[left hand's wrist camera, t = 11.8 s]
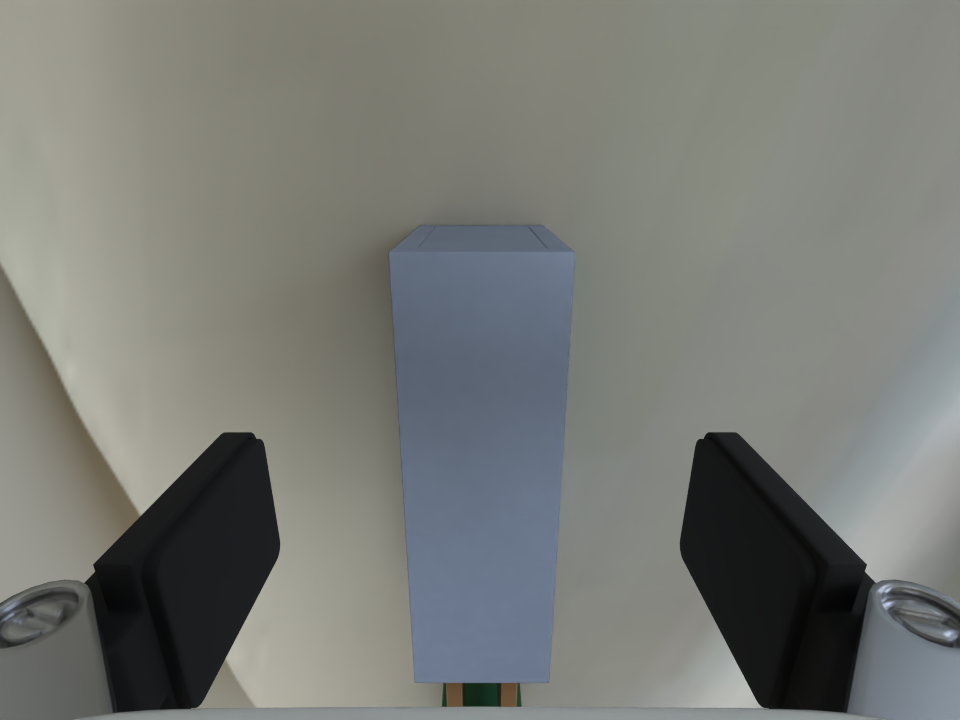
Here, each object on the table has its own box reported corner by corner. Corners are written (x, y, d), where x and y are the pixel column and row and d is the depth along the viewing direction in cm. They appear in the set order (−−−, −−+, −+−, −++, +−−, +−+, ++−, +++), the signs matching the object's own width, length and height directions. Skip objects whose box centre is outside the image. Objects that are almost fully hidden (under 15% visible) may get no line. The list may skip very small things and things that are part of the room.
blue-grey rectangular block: (531, 548, 32) (548, 683, 24) (432, 547, 32) (414, 683, 24) (544, 225, 25) (575, 251, 17) (419, 225, 25) (388, 251, 17)
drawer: (516, 738, 37) (524, 866, 30) (446, 738, 37) (438, 866, 30) (526, 441, 29) (540, 525, 22) (436, 441, 29) (423, 525, 22)
